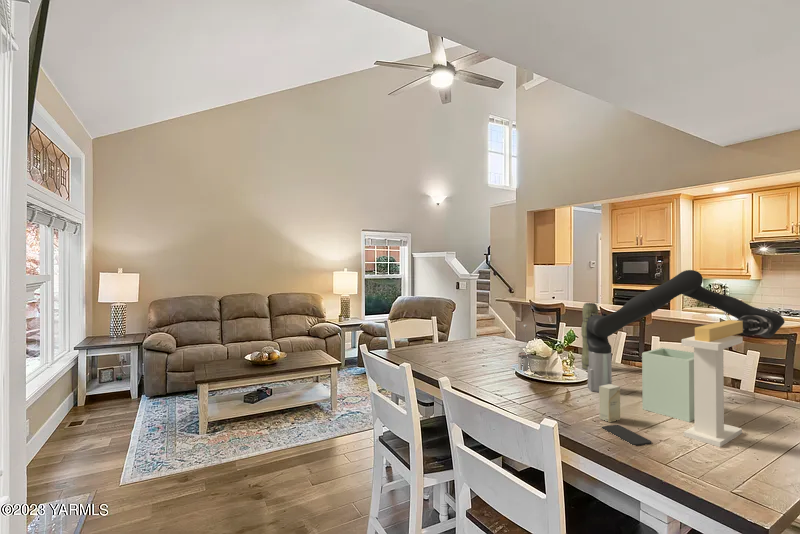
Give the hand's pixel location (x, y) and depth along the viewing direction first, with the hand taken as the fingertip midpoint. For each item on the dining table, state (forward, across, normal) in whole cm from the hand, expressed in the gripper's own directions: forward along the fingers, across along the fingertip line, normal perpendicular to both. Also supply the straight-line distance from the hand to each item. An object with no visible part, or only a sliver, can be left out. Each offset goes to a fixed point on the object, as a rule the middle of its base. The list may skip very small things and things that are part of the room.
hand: (736, 325), depth 149 cm
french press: (+8, -90, +26) cm, 94 cm away
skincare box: (+34, -30, +35) cm, 57 cm away
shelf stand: (+20, -3, +36) cm, 41 cm away
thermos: (-26, -74, +24) cm, 82 cm away
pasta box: (+17, 0, +4) cm, 17 cm away
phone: (+43, -20, +37) cm, 60 cm away
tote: (+6, -20, +33) cm, 39 cm away
